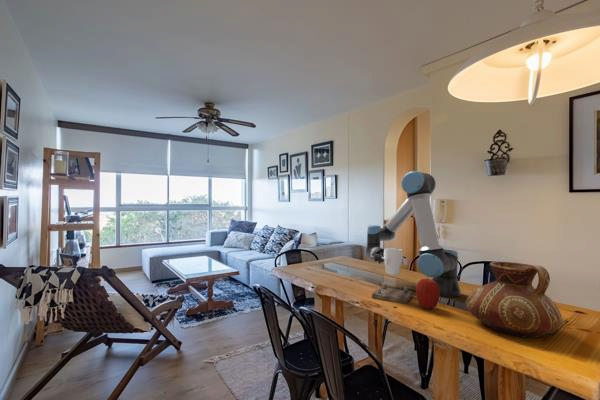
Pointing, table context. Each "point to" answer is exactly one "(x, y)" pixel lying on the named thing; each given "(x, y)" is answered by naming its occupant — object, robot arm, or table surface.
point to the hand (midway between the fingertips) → (396, 261)
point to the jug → (516, 301)
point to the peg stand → (392, 294)
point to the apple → (427, 293)
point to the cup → (393, 260)
